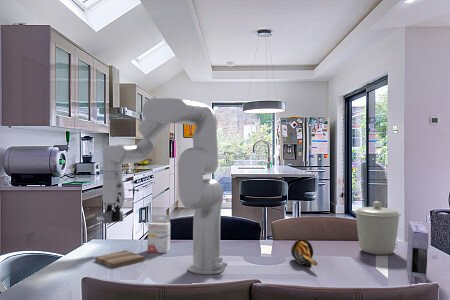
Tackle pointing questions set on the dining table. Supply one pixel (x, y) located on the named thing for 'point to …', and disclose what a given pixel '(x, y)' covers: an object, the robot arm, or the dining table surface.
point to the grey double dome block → (109, 217)
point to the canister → (377, 229)
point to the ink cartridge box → (159, 234)
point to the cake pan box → (417, 252)
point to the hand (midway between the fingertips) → (112, 219)
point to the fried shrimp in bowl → (303, 252)
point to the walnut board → (119, 259)
